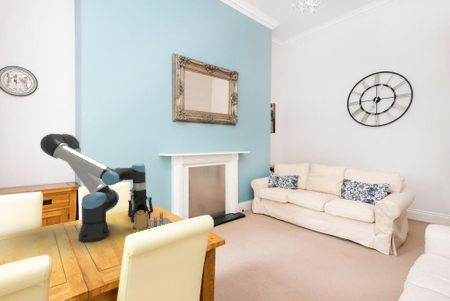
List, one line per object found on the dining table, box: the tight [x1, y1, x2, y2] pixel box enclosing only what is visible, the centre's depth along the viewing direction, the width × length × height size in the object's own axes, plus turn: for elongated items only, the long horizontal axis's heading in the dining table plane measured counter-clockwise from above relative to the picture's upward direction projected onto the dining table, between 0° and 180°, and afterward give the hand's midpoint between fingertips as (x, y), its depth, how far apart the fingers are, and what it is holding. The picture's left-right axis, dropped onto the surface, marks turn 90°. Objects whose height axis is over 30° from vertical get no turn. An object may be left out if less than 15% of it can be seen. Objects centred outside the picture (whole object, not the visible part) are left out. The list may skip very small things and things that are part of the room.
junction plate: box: [146, 217, 174, 230], centre depth 149 cm, size 16×14×1 cm
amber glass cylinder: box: [153, 216, 158, 226], centre depth 144 cm, size 2×2×5 cm
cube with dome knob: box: [134, 210, 147, 231], centre depth 143 cm, size 6×6×10 cm
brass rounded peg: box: [159, 212, 164, 221], centre depth 153 cm, size 2×2×5 cm
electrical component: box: [129, 186, 147, 214], centre depth 160 cm, size 18×10×20 cm, turn 25°
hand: (141, 225), depth 143 cm, fingers open, 7 cm apart
